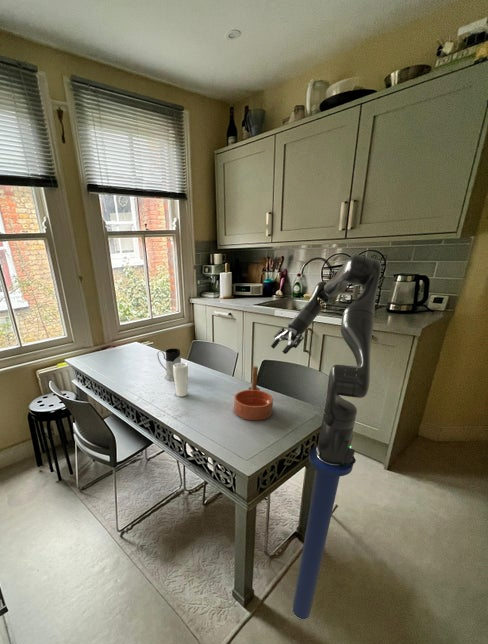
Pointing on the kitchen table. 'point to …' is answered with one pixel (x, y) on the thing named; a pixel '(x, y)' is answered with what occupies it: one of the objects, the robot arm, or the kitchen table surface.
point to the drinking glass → (180, 378)
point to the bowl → (253, 404)
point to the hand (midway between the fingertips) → (277, 350)
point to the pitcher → (171, 361)
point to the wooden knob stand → (254, 379)
